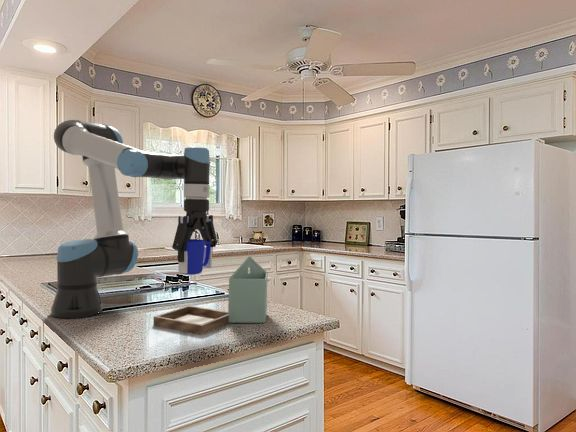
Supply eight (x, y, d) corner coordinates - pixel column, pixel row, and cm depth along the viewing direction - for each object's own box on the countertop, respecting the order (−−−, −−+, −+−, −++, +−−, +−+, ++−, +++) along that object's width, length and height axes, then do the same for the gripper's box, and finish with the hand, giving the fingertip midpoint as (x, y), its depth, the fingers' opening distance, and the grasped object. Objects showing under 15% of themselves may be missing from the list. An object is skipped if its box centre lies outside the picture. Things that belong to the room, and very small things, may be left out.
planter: (245, 328, 129) (246, 261, 128) (227, 322, 135) (229, 258, 134) (282, 317, 142) (284, 256, 141) (265, 312, 147) (266, 253, 146)
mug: (218, 271, 137) (219, 239, 136) (191, 276, 127) (191, 242, 126) (199, 268, 141) (199, 237, 141) (170, 273, 131) (171, 240, 130)
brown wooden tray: (153, 325, 131) (153, 316, 131) (188, 313, 145) (188, 305, 145) (201, 334, 123) (202, 325, 123) (233, 321, 137) (234, 312, 137)
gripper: (180, 198, 121) (179, 277, 122) (228, 199, 142) (227, 266, 143) (159, 198, 124) (159, 274, 125) (209, 198, 145) (209, 264, 146)
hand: (195, 270), depth 134 cm, fingers closed on mug, 11 cm apart
